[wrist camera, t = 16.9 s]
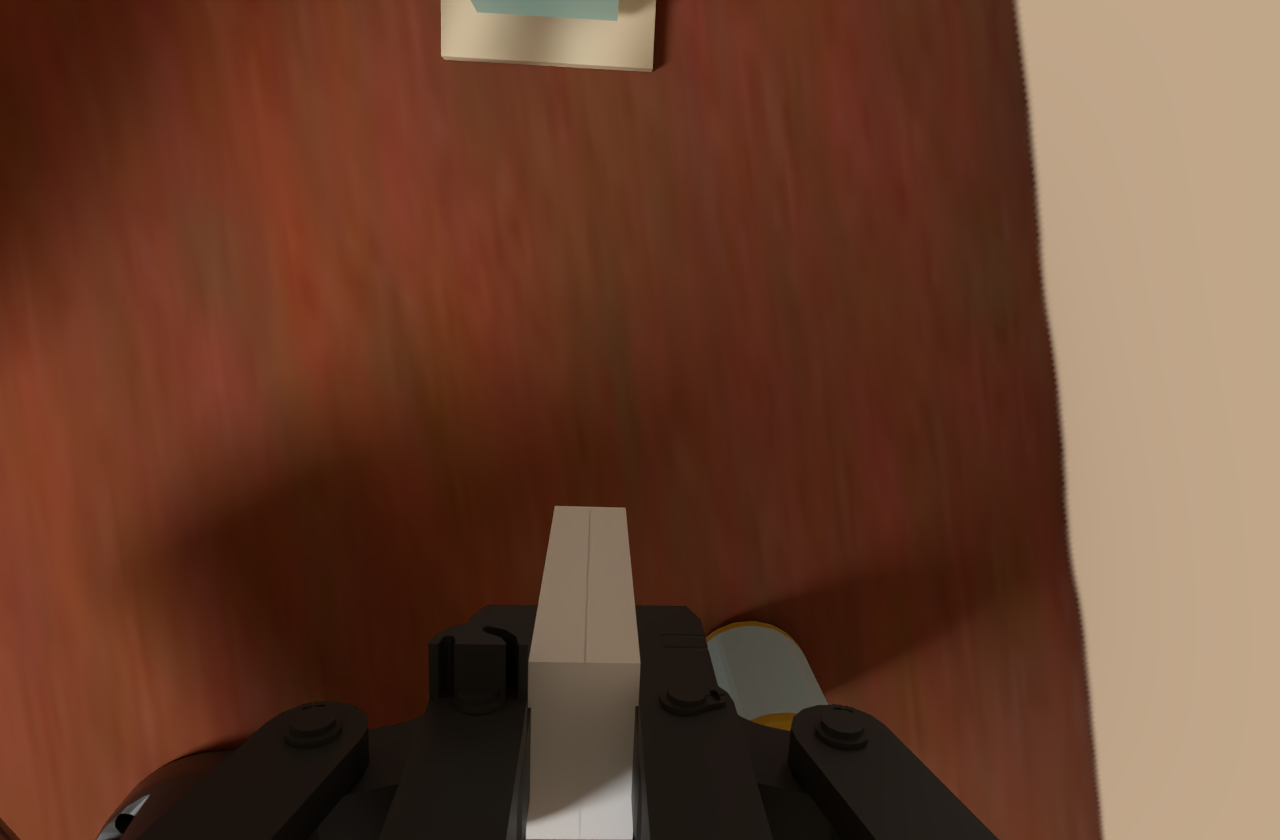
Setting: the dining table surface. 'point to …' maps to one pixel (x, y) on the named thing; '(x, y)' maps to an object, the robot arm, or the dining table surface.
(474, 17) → the beige t-shaped piece
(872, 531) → the dining table surface
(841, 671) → the dining table surface
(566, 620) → the robot arm
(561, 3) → the matte teal cube
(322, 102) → the dining table surface
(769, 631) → the bottle
